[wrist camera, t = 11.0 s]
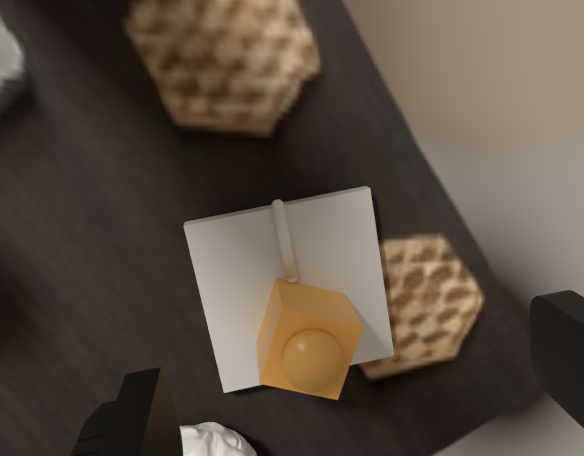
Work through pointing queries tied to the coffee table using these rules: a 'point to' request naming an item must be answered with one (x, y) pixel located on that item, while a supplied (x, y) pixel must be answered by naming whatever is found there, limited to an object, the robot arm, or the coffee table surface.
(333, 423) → the coffee table surface
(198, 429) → the bust
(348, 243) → the plate
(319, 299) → the domed orange cube
